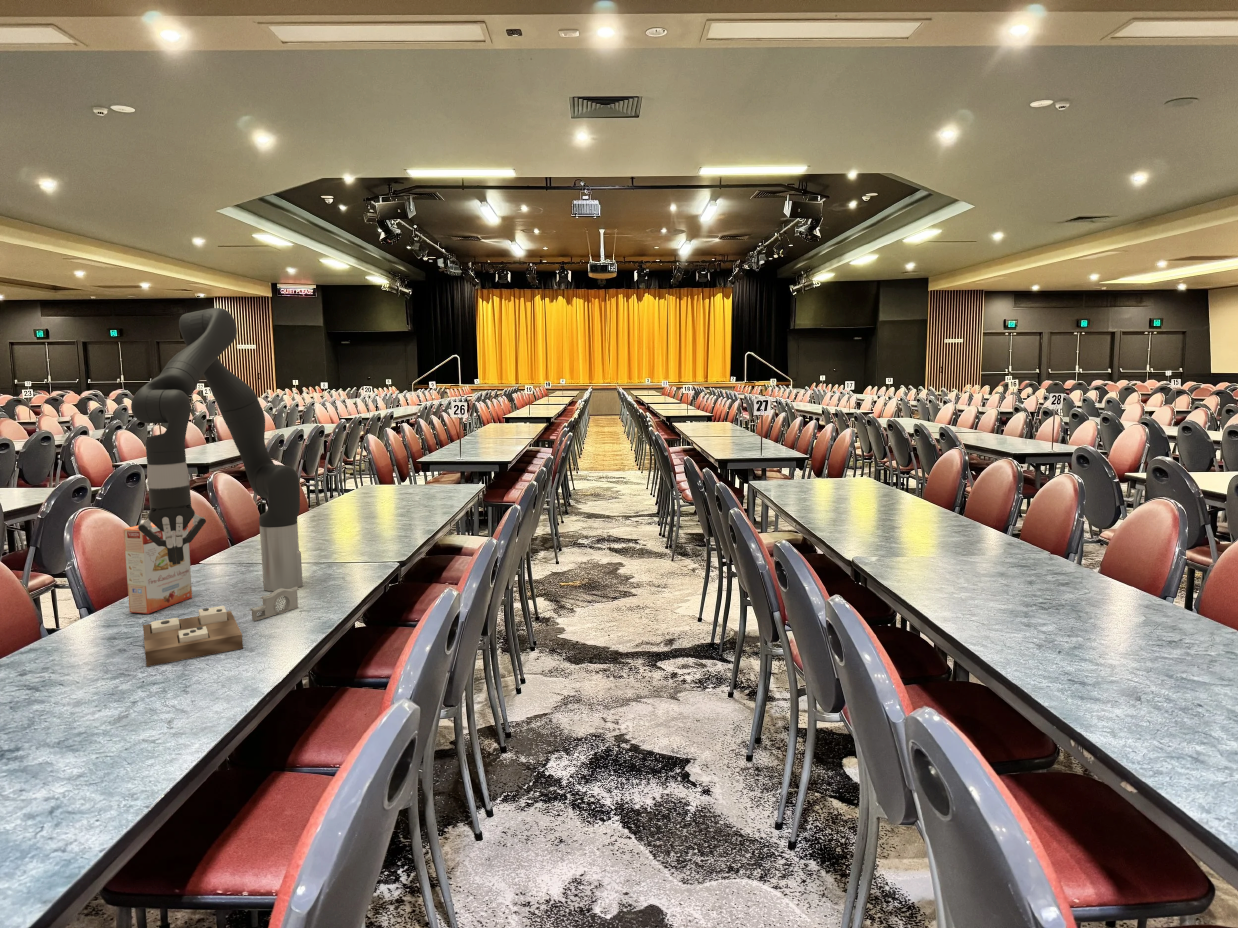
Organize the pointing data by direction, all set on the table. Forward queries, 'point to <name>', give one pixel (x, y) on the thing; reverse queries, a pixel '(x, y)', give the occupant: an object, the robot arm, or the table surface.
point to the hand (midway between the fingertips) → (176, 563)
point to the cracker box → (154, 572)
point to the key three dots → (193, 634)
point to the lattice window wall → (270, 603)
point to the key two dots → (212, 615)
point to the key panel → (169, 649)
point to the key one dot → (165, 625)
